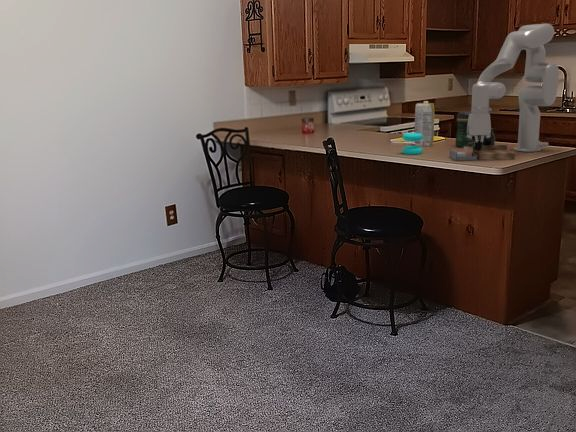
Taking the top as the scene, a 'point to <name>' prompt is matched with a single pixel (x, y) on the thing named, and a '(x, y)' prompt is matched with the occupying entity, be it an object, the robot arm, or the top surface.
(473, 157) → the box
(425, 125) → the juice carton
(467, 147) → the tile
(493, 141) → the supplement bottle
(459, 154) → the tile
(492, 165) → the top surface
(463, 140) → the coffee jar
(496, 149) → the board
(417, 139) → the donuts
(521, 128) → the robot arm
